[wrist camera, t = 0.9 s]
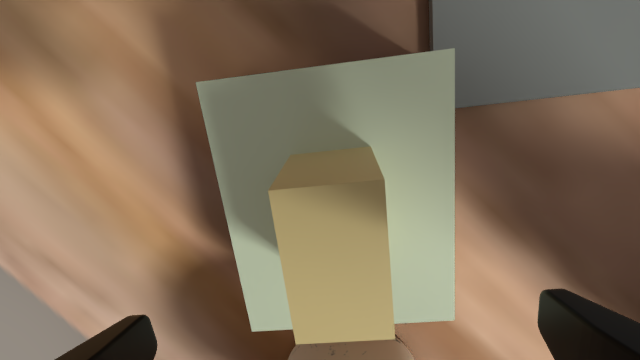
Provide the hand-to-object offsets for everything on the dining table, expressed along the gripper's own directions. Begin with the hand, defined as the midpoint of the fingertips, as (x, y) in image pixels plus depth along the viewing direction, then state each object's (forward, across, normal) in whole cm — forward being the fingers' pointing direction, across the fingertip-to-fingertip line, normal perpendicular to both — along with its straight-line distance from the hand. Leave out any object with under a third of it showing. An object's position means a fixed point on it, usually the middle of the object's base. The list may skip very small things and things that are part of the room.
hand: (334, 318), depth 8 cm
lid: (+7, 0, 0) cm, 7 cm away
